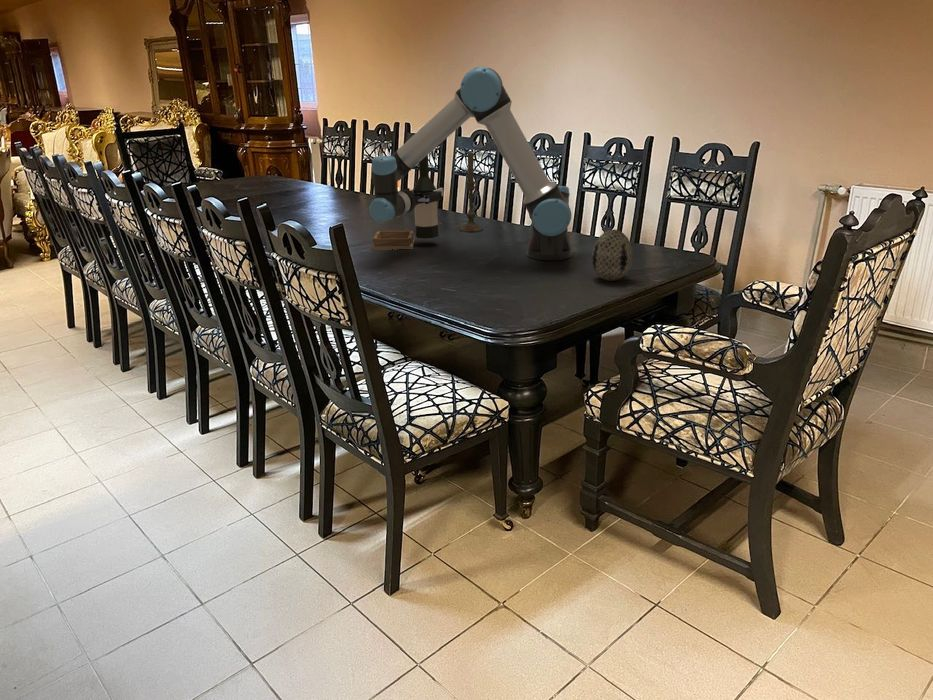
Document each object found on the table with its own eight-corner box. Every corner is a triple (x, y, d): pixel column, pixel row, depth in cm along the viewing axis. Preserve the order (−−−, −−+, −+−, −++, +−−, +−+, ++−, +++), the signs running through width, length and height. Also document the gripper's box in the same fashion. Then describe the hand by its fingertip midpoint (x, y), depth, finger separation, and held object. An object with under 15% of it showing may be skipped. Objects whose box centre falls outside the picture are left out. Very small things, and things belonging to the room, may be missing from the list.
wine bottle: (435, 238, 243) (431, 150, 231) (412, 238, 244) (407, 150, 233) (441, 233, 250) (437, 147, 239) (418, 233, 252) (414, 148, 241)
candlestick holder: (456, 231, 268) (454, 151, 257) (464, 226, 276) (463, 149, 265) (478, 233, 265) (477, 152, 253) (486, 228, 273) (486, 149, 261)
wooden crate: (412, 249, 242) (411, 239, 241) (372, 250, 242) (371, 239, 241) (415, 240, 255) (414, 230, 254) (377, 240, 255) (376, 230, 254)
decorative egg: (582, 277, 207) (585, 227, 202) (616, 272, 211) (619, 224, 206) (604, 287, 197) (607, 236, 192) (638, 283, 201) (642, 232, 196)
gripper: (374, 212, 231) (405, 200, 251) (430, 215, 224) (458, 203, 243) (372, 189, 229) (403, 179, 248) (429, 192, 221) (457, 181, 240)
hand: (430, 191), depth 246 cm, fingers closed on wine bottle, 8 cm apart
